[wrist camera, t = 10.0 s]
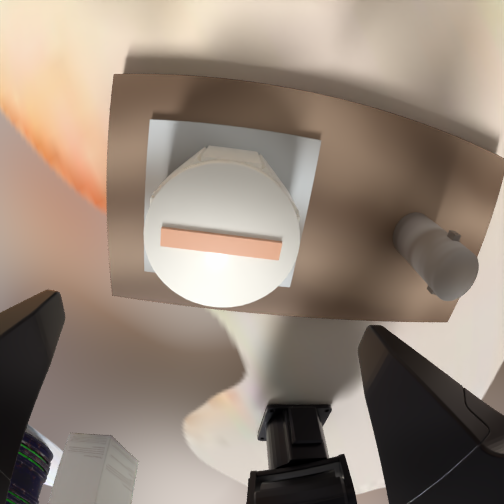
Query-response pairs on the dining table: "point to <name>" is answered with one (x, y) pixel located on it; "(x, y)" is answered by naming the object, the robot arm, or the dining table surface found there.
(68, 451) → the supplement box
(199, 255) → the cap
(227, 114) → the post board
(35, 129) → the dining table surface
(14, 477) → the storage jar
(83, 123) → the dining table surface
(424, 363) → the robot arm
